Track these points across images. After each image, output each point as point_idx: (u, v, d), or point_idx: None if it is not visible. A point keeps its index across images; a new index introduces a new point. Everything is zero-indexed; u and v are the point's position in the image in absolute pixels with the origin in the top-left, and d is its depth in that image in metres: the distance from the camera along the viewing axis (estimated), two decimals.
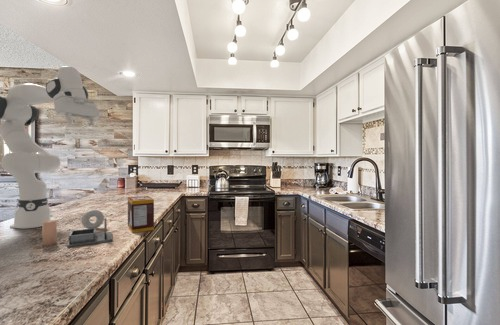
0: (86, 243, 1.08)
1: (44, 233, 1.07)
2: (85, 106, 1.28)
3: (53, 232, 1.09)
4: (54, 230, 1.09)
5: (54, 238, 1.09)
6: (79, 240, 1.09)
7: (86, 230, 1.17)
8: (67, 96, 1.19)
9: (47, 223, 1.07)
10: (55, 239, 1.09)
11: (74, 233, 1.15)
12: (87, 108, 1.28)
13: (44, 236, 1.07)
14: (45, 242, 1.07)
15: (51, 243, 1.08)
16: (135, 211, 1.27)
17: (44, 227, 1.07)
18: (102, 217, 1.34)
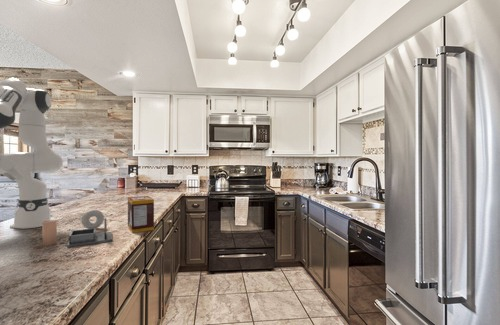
0: (86, 243, 1.08)
1: (44, 233, 1.07)
2: None
3: (53, 232, 1.09)
4: (54, 230, 1.09)
5: (54, 238, 1.09)
6: (79, 240, 1.09)
7: (86, 230, 1.17)
8: None
9: (47, 223, 1.07)
10: (55, 239, 1.09)
11: (74, 233, 1.15)
12: None
13: (43, 236, 1.07)
14: (45, 242, 1.07)
15: (51, 243, 1.08)
16: (135, 211, 1.27)
17: (44, 227, 1.07)
18: (102, 217, 1.34)
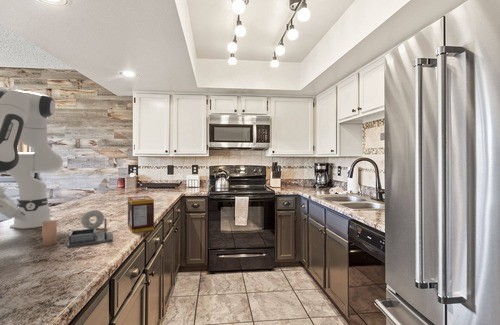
0: (86, 243, 1.08)
1: (44, 233, 1.07)
2: None
3: (53, 232, 1.09)
4: (54, 230, 1.09)
5: (54, 238, 1.09)
6: (79, 240, 1.09)
7: (86, 230, 1.17)
8: None
9: (47, 223, 1.07)
10: (55, 239, 1.09)
11: (74, 233, 1.15)
12: None
13: (43, 236, 1.07)
14: (45, 242, 1.07)
15: (51, 243, 1.08)
16: (135, 211, 1.27)
17: (44, 227, 1.07)
18: (102, 217, 1.34)
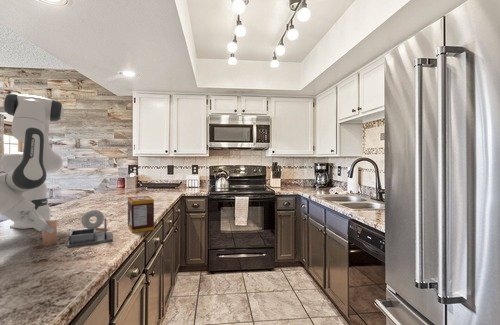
0: (86, 243, 1.08)
1: (44, 233, 1.07)
2: None
3: (53, 232, 1.09)
4: (54, 230, 1.09)
5: (54, 238, 1.09)
6: (79, 240, 1.09)
7: (86, 230, 1.17)
8: None
9: (47, 223, 1.07)
10: (55, 239, 1.09)
11: (74, 233, 1.15)
12: None
13: (44, 236, 1.07)
14: (45, 242, 1.07)
15: (51, 243, 1.08)
16: (135, 211, 1.27)
17: None
18: (102, 217, 1.34)
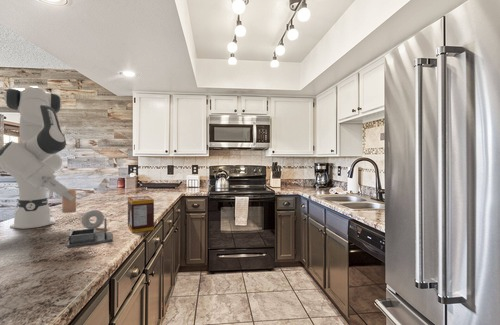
0: (86, 243, 1.08)
1: (64, 200, 1.09)
2: None
3: (73, 200, 1.10)
4: None
5: (74, 205, 1.11)
6: (79, 240, 1.09)
7: (86, 230, 1.17)
8: None
9: None
10: (74, 207, 1.11)
11: (74, 233, 1.15)
12: None
13: (63, 203, 1.09)
14: (64, 209, 1.09)
15: (70, 210, 1.09)
16: (135, 211, 1.27)
17: None
18: (102, 217, 1.34)
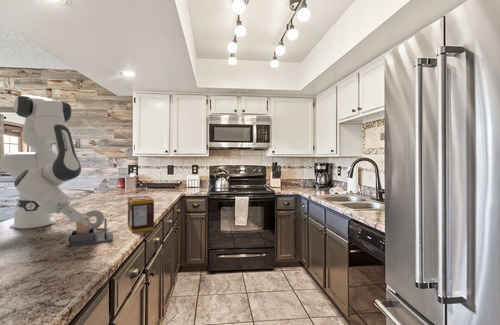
0: (86, 243, 1.08)
1: (78, 228, 1.11)
2: None
3: (87, 228, 1.12)
4: (87, 225, 1.13)
5: (88, 233, 1.13)
6: (79, 240, 1.09)
7: None
8: None
9: None
10: None
11: (74, 233, 1.15)
12: None
13: (78, 231, 1.11)
14: None
15: None
16: (135, 211, 1.27)
17: (78, 222, 1.11)
18: (102, 217, 1.34)
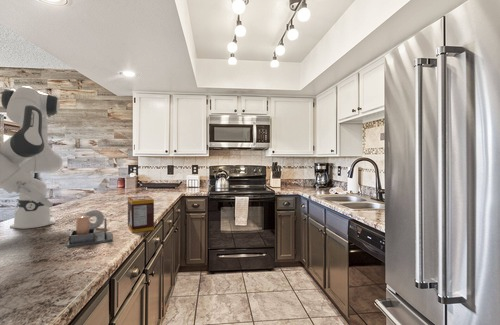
0: (86, 243, 1.08)
1: (78, 228, 1.11)
2: None
3: (87, 228, 1.12)
4: (87, 225, 1.13)
5: (87, 233, 1.13)
6: (79, 240, 1.09)
7: None
8: None
9: (81, 219, 1.11)
10: None
11: (74, 233, 1.15)
12: None
13: (78, 231, 1.11)
14: None
15: None
16: (135, 211, 1.27)
17: (78, 222, 1.11)
18: (102, 217, 1.34)
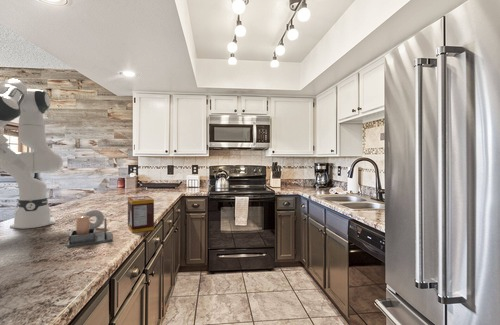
0: (86, 243, 1.08)
1: (78, 228, 1.11)
2: None
3: (87, 228, 1.12)
4: (87, 225, 1.13)
5: (88, 233, 1.13)
6: (79, 240, 1.09)
7: None
8: None
9: (81, 219, 1.11)
10: None
11: (74, 233, 1.15)
12: None
13: (78, 231, 1.11)
14: None
15: None
16: (135, 211, 1.27)
17: (78, 222, 1.11)
18: (102, 217, 1.34)
